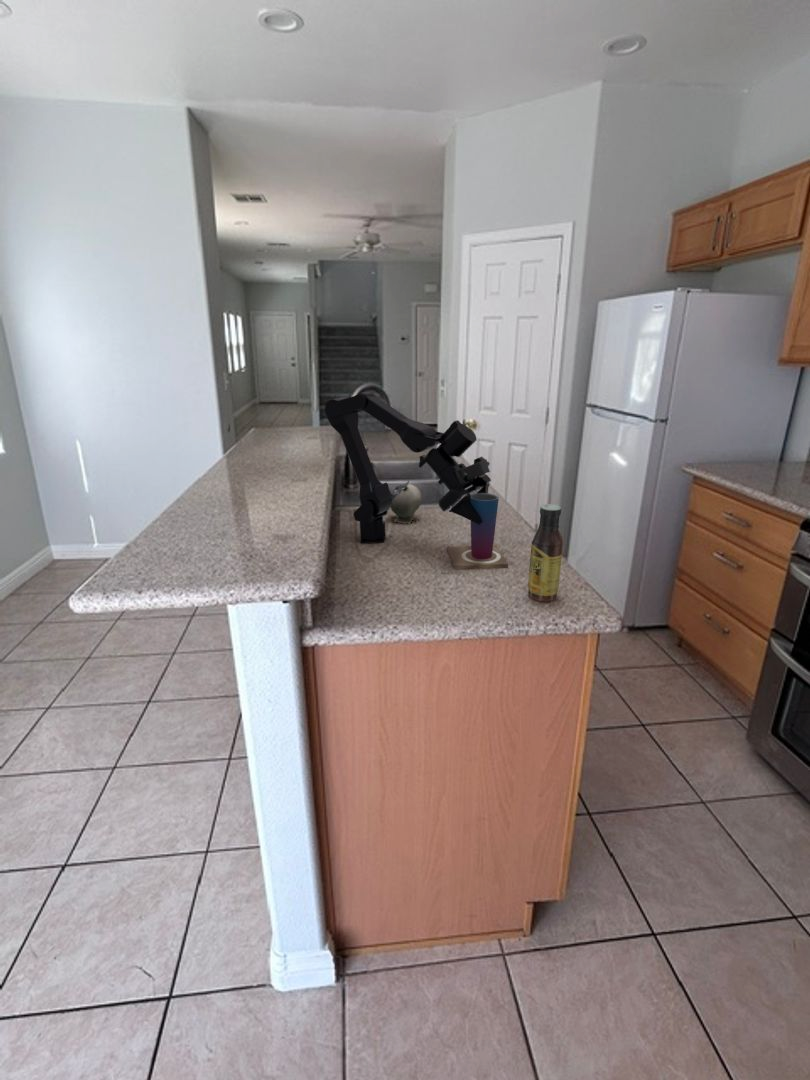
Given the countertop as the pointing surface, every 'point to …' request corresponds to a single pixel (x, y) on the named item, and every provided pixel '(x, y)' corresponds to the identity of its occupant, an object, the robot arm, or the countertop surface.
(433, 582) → the countertop surface
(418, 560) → the countertop surface
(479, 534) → the cup
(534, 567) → the sauce bottle
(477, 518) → the robot arm
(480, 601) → the countertop surface
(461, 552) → the board
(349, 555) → the countertop surface
